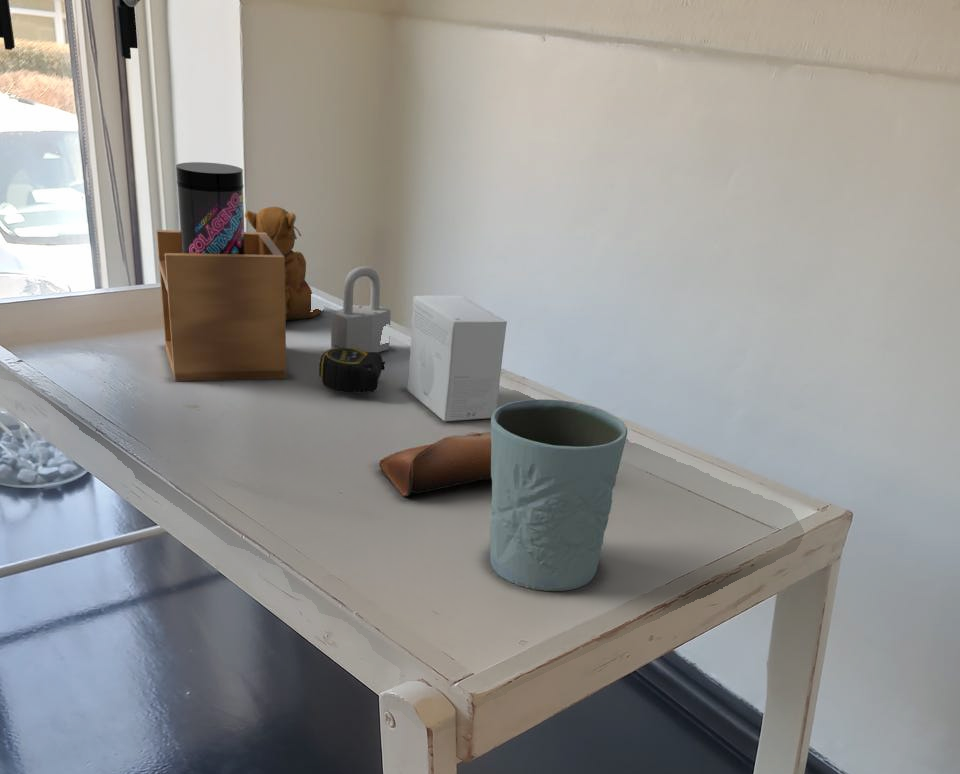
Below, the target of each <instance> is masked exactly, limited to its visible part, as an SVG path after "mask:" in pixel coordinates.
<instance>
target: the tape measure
mask: <svg viewBox="0 0 960 774" xmlns="http://www.w3.org/2000/svg"><path fill="white" fill-rule="evenodd" d="M385 365H386V361H383V356H382V354H380V352H365V351H361V350H358V349H353V348H335V349H331V348H330V349H328V350H326V351H324V352H323V353H322V355H321V357H320V358H319V364H318V375H319V378H320V381H321V383H322V385H323V386H324V387H326V388H328V389H330V390H333V391H335V392H340V393H346V394H350V393H351V394H352V393H353V394H354V393H355V394H357V393H360V394H361V393H373V392H375V391H376V390H377V389H378V385H379V381H380V377H381V374H382V371H384V370H385V368H386V366H385Z"/></svg>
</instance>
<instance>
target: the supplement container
mask: <svg viewBox="0 0 960 774" xmlns="http://www.w3.org/2000/svg"><path fill="white" fill-rule="evenodd" d="M175 174H176V176H175V177H176V185H177V186H176V187H177V199H178V201H177V202H178V214H179V215H178V216H179V227H180V228H179V229H180V230H179V231H180V232H181V248H182V253H190V254H245V234H244V232H245V216H244V215H245V208H244V207H245V206H244V205H245V204H244V170H243V168H241V167H239V166H236V165H232V164H225V163H219V162H217V163H216V162H205V161H204V162H203V161H202V162H201V161H200V162H199V161H194V162H193V161H192V162H181V163H177V164H176V165H175Z"/></svg>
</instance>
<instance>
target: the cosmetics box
mask: <svg viewBox="0 0 960 774" xmlns="http://www.w3.org/2000/svg"><path fill="white" fill-rule="evenodd" d="M507 324H508V321H507V320H505V319H504V318H501V317H500V316H498V315H497V314H495V313H493V312H491V311H490V310H488V309H486V308H485V307H483V306H481V305H480V304H479V303H477V302H474V301H473V300H471V299H470V298H468V297H466V296H465V295H414V296H413V298H412V321H411V337H410V351H409V352H410V353H409V365H408V366H409V367H408V377H407V378H408V379H407V387H406V390H407V392H409V393H410V394H411V395H412V396H414V398H416V399H417V400H418V401H419V402H420V403H422V404H423V405H424V406H425V407H427V409H429V410H430V411H432V412H433V413H434V415H436V416H437V417H439V418H440V419H441V420H442V421H443V422H454V421H456V422H457V421H467V420H483V419H491V417H492V415H493V412H494V411H495V410H496V409H497V408H498V400H499V399H498V398H499V391H500V381H501V373H502V366H503V365H502V363H503V357H504V356H503V355H504V346H505V340H506V331H507Z"/></svg>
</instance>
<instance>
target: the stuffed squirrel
mask: <svg viewBox="0 0 960 774" xmlns="http://www.w3.org/2000/svg"><path fill="white" fill-rule="evenodd" d="M244 219H246V220H247V222H248V223H249V224H250V226H251V227H252V228H253V229H254V230H255V232H262V233H266V234H267V235H268V236H269V238H270V239H271V240H272V241H273V243H274V244H275V245H276V247H277V248H278V249H279V251H280V252H281V253H282V255H283V256H284V258H285V322H287V321H294V320H296V321H297V320H303V319H304V320H305V319H311V318H314V317H317V316H318V315H320V314H321V313H322V312H323V311H321V310H319V309H315V310H313V312H310V311H311V294H313V292H312V289H311V287H310V285H309V283H308V282H307V281H306V273H307V261H306V258H305V256H304V254H303V253H302V252H301V251H294V250H293V248H294V247H295V242H296V240H297V239H298V238H297V235H296V232H295V230H296V231H297V233H298V235H299V237H302V234H301V233H300V231H299V229H298V228H297V227H296V226H295V222H296V221H297V215H296V214H295V213H294V212H289V211H287V210H286V209H284V208H283V207H279V206H268V207H265V208H262V209H260V210H258V212H257V213H256V212H253V211H251V210H246V211H245V212H244Z"/></svg>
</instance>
